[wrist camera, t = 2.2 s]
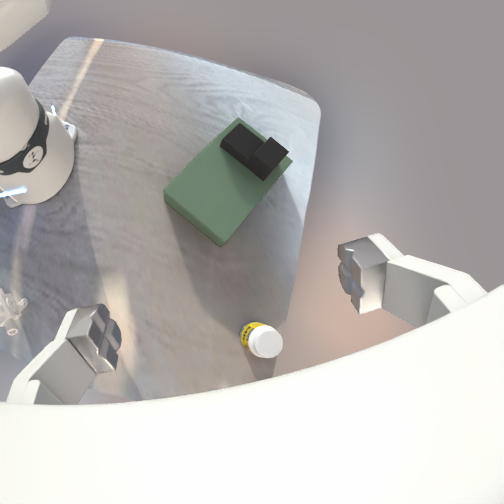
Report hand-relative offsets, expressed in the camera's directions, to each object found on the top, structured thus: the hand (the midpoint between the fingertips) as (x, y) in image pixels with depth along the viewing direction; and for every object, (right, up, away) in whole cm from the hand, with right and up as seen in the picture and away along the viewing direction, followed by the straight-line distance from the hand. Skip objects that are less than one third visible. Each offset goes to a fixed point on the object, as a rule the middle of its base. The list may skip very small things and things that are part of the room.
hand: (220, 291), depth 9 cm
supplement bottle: (+1, -12, +37) cm, 39 cm away
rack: (-3, +13, +39) cm, 42 cm away
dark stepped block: (+1, +17, +36) cm, 40 cm away
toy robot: (-37, -8, +27) cm, 47 cm away
